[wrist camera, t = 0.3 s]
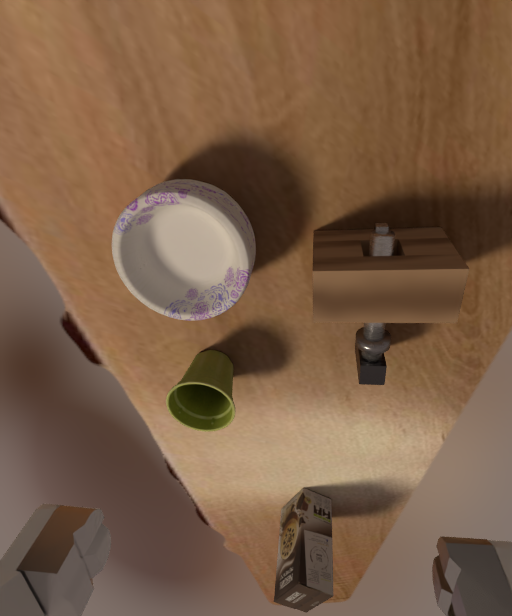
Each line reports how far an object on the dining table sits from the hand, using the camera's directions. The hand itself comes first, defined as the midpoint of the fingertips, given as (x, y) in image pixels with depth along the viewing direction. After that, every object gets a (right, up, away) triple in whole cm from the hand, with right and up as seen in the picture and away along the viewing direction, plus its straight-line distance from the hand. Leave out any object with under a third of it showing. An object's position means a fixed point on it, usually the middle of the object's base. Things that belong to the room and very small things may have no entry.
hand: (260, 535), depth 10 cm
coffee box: (+9, -32, +68) cm, 75 cm away
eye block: (+14, +12, +37) cm, 41 cm away
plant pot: (-6, -3, +51) cm, 51 cm away
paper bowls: (-7, +15, +39) cm, 42 cm away
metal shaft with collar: (+14, +8, +40) cm, 43 cm away
